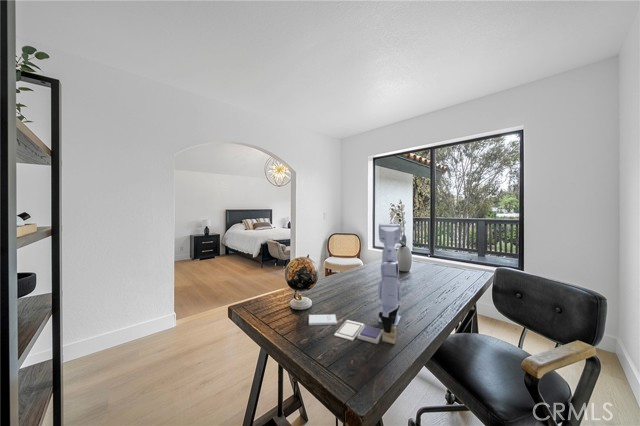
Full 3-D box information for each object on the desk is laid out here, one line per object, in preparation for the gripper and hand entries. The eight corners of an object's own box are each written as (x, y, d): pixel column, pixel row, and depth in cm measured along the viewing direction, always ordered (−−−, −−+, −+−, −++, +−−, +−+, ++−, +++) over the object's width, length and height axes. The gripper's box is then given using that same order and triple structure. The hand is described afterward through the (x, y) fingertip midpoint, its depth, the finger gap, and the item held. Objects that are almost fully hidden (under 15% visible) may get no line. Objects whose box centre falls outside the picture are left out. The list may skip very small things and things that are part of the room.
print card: (347, 320, 107) (347, 319, 107) (364, 324, 104) (364, 323, 104) (333, 335, 95) (333, 334, 95) (352, 340, 91) (352, 339, 91)
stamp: (385, 336, 94) (385, 324, 94) (396, 339, 92) (396, 326, 92) (382, 342, 91) (382, 329, 90) (394, 345, 88) (394, 331, 88)
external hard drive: (308, 317, 112) (335, 317, 112) (308, 326, 103) (337, 325, 104) (308, 314, 112) (335, 313, 112) (308, 323, 103) (337, 322, 104)
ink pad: (364, 327, 101) (364, 323, 101) (383, 332, 97) (383, 328, 97) (357, 338, 93) (357, 333, 93) (377, 343, 89) (377, 339, 89)
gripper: (383, 285, 99) (383, 317, 99) (374, 297, 86) (374, 334, 87) (401, 288, 96) (401, 321, 96) (393, 301, 83) (393, 339, 83)
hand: (389, 327), depth 91 cm, fingers open, 7 cm apart
